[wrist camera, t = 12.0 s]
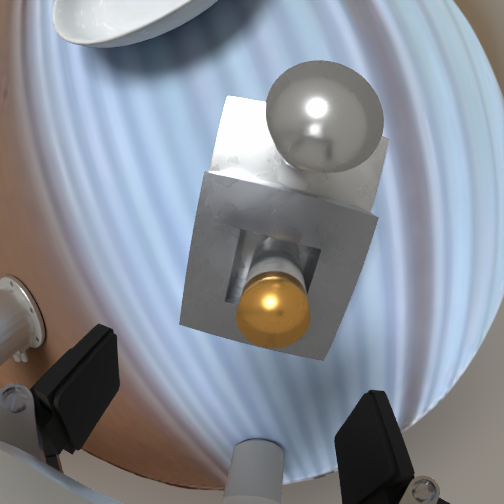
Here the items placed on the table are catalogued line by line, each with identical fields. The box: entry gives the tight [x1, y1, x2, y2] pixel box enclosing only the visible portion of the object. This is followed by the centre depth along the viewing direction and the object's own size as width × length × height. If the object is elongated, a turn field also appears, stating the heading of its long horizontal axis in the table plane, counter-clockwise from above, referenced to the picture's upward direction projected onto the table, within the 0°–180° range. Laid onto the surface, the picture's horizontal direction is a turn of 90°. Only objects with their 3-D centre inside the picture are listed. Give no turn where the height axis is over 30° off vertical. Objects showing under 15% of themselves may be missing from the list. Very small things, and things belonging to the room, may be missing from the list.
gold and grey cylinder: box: [236, 237, 310, 348], centre depth 20 cm, size 4×4×10 cm
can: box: [223, 439, 284, 504], centre depth 29 cm, size 8×8×12 cm
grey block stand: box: [179, 61, 389, 361], centre depth 17 cm, size 19×14×15 cm
